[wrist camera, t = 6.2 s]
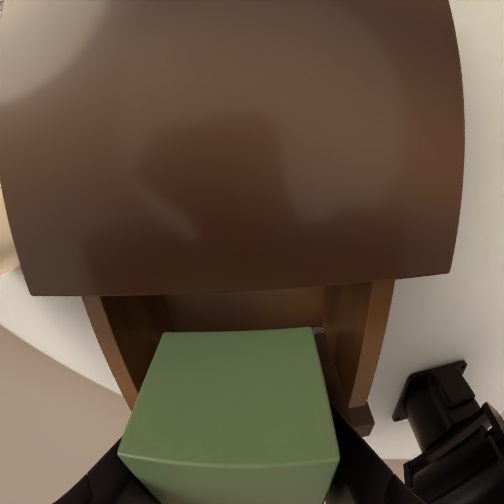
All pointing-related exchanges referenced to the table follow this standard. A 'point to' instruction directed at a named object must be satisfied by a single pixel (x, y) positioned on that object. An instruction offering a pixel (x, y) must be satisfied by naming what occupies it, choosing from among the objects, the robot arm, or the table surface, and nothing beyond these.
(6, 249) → the beer glass
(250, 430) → the block
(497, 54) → the table surface
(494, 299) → the table surface
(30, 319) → the table surface
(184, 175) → the cabinet
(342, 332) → the drawer
